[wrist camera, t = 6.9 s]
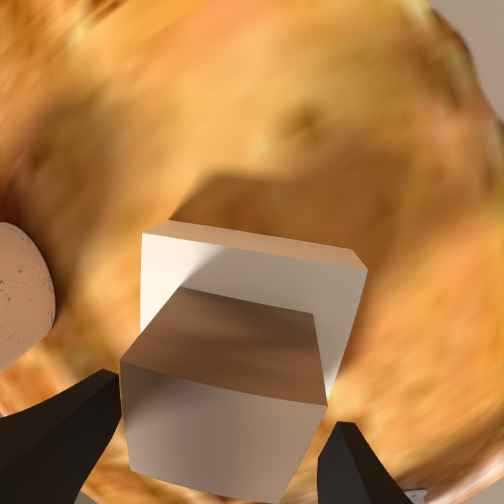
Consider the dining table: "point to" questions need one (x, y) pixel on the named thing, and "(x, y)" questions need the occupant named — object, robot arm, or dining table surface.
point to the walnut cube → (223, 395)
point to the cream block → (257, 277)
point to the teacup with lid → (22, 295)
